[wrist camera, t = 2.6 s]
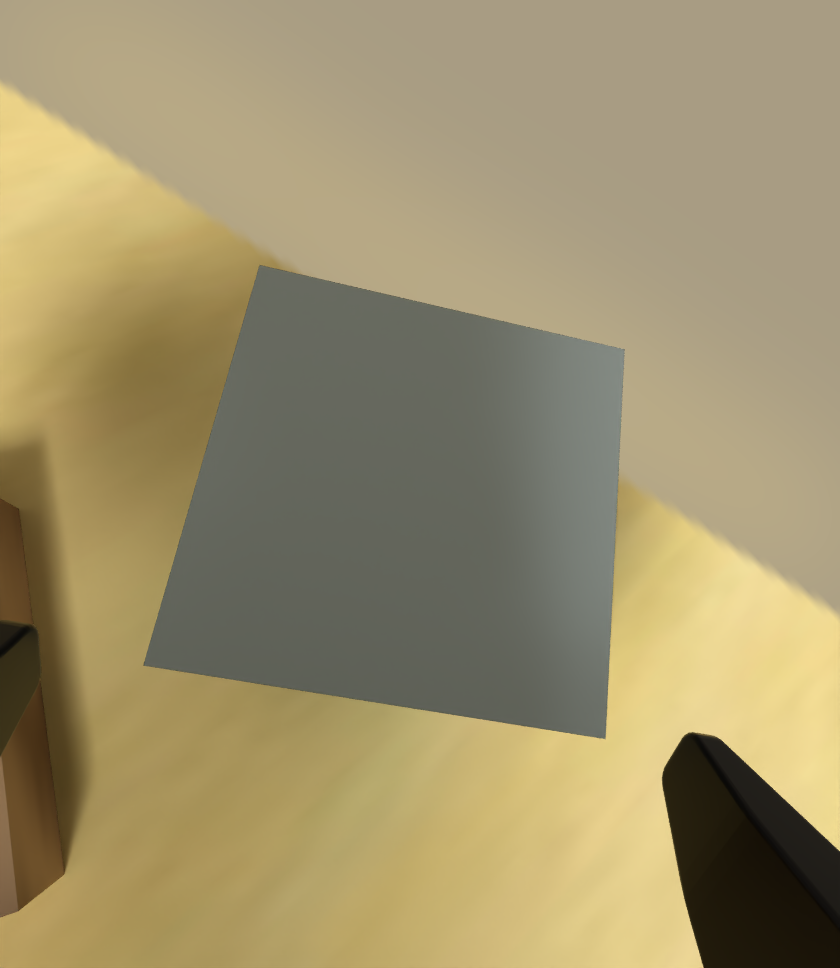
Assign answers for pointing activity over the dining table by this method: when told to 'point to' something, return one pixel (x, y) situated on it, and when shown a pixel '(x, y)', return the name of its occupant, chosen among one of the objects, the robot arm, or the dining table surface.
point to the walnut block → (24, 757)
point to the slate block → (404, 511)
